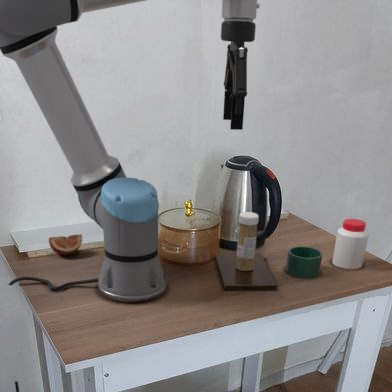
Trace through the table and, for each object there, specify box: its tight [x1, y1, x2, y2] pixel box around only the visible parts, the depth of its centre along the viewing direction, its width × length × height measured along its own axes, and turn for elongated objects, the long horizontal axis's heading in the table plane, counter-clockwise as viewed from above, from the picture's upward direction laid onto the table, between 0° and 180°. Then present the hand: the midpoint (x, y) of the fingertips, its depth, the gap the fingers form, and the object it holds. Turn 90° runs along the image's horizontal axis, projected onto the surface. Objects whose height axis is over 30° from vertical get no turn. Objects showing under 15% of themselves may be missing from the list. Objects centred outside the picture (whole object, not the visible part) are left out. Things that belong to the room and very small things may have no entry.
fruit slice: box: [48, 234, 83, 256], centre depth 141 cm, size 8×7×5 cm
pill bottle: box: [331, 218, 370, 270], centre depth 141 cm, size 8×8×11 cm
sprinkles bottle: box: [235, 211, 259, 271], centre depth 132 cm, size 5×5×14 cm
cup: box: [285, 245, 324, 279], centre depth 137 cm, size 8×8×5 cm
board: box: [214, 252, 278, 291], centre depth 136 cm, size 12×20×1 cm, turn 5°
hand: (232, 124), depth 132 cm, fingers open, 13 cm apart
